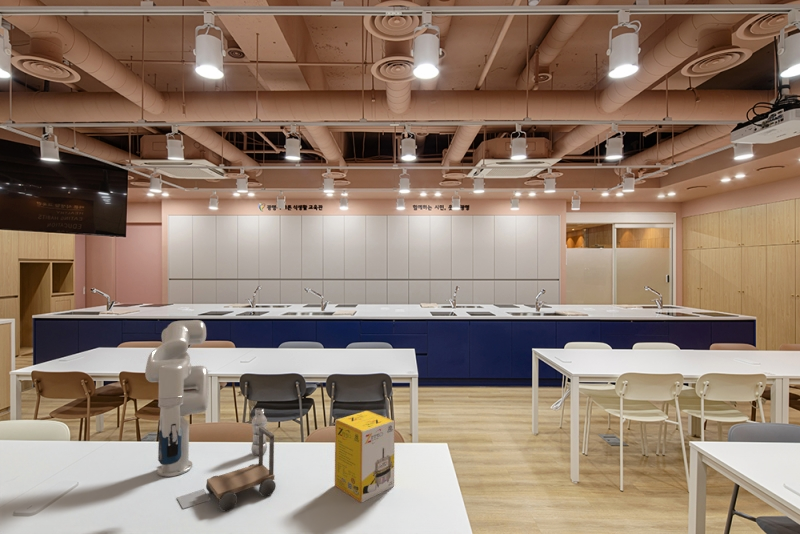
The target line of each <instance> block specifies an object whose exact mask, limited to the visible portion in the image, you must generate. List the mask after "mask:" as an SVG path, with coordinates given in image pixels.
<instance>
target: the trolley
mask: <svg viewBox="0 0 800 534" xmlns="http://www.w3.org/2000/svg"><path fill="white" fill-rule="evenodd" d="M263 434H265V436H266V437H267V438H269V441H268V442H269V443H268V444H269V447H268V449H269V451H268V452H269V455H268V456H269V457H268V463H269V464H268V467H269V468H267V467H266V466H265V465H264V463H263V462H264V454H263ZM274 449H275V434H274V433H272V432H271V431H269V430H268V429H267V428H266V429H265V428H264V427H259V455H258V463H256V464H255V463H254V464H250V465H248V466H246V467H243V468H239V469H236V470H232V471H230V472H226V473H223V474H220V475H213V476H212V477H210V478H207V479H206V485H205V488H206V490H207V492H208V493H210V494H214V496H215V497H216V498H217V499H219V500H218V507H219V508H220V510H222V511H223V512H228V511H231V510H232V509H233V508H235V505H236V504H237V502H238V497H237V495H236V493H239V492H243V491H245V490H247V489H250V488H253V487H256V486H259V487H258V491H259V493H260V495H261V496H263V497H269V496H271V495H272V494H274V493H275V492H274V491H275V490H276V488H277V487H276V482H275V474H274V471H275V470H274V466H275V465H274V462H275V459H274V458H275V457H274V455H275V453H274V452H275V450H274Z"/></svg>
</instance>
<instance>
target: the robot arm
mask: <svg viewBox="0 0 800 534" xmlns="http://www.w3.org/2000/svg"><path fill="white" fill-rule="evenodd" d="M206 339H207V327H206V323H204V321H202V320H199V319H193V320H177V321H172V322H171V323H170V324H168V325H167V327H165V328H164V329H163V330H162V332H161V343H162V344H161V345H159V346H157V347H156V348H155V349H153V350H152V351H151V352H150V353H149V355H148V358H147V361H146V365H145V373H144V374H145V376H144V377H145V379H146V381H148V382H149V383H158V404H157V407H158V408H160V413H159V427H158V430H159V431H160V430H161V429H162V430H161V431H162V436H163V437H164V438H166V437H168V445H167V457H172V456H176V455H178V439H177V435H179V433H180V427H181V429H182V445H181V457H180V459H179V461H178V462H176V463H174V464H171V465H162V464H161V466H159V467H158V468H157V475H159V476H160V477H164V478H165V477H169V478H170V477H175V476H180V475H182V474H184V473H187V472H188V471H190V470H191V469H192V468H193V464H194V463H193V462H192V461H191V460H189V455H190V454H189V451H190V450H189V449H190V448H189V447H190V443H189V442H190V424H189V422H188V420H187V419H186V418H185V416H188V415H189V416H190V415H196V414H202V413H204V412H206V411H207V409H208V407H209V371H208V368H207V367H206V366H204V365H192V363H191V362H190V361H191V357H190V354H189V353H188V352H187V351H188V349H189V346H192V345H202V344H204V343H205V341H206ZM191 389H194V390H191ZM184 390H185V391H184ZM187 390H188V391H187ZM170 433H172V435H170V436H169V434H170ZM170 437H172V439H171V440H170Z"/></svg>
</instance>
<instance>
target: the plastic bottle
mask: <svg viewBox="0 0 800 534" xmlns="http://www.w3.org/2000/svg"><path fill="white" fill-rule="evenodd" d="M254 410H255V411H254V414H255V415H254V416H253V418H252V420H251V428H252V442H251V443H252V444H251V450H250V451H251V453H252V455H253V456H259V427H264V428H265V429H266V430H267V424H268V419H267V417H266V415H265V414H264V413H265V408H262V407H257V408H255V409H254ZM266 437H267V436H266V435H265V434H263V455H264V454H266V452H267V450H268V449H267V448H268V446H267V439H266Z"/></svg>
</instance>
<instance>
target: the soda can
mask: <svg viewBox="0 0 800 534" xmlns="http://www.w3.org/2000/svg"><path fill="white" fill-rule="evenodd" d="M161 430H162V429H161ZM161 430H159V432H158V453H157V454H158V455H157V458H158V459H157V460H158V462H159V464H160V465H161V466H162V465H171V464H174V463H176V462H178V461H179V459H180V457H181V445H182V429H181V427H180V433H179V435H177V439H178V455H176V456H172V457H167V445H168V437H166V438H164V437H163V436H162V431H161ZM170 435H172V433H170V434H169V436H170ZM171 439H172V437H170V440H171Z"/></svg>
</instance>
